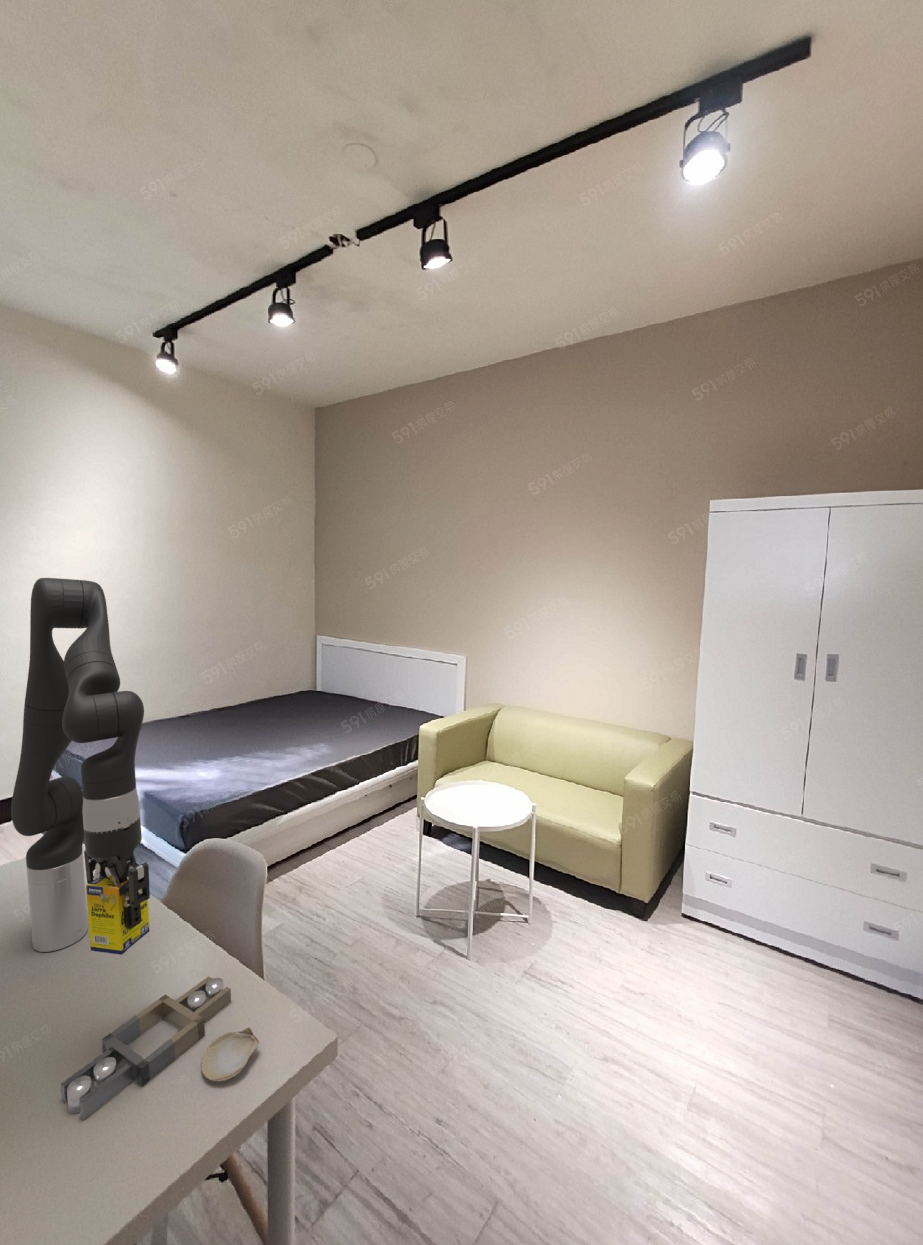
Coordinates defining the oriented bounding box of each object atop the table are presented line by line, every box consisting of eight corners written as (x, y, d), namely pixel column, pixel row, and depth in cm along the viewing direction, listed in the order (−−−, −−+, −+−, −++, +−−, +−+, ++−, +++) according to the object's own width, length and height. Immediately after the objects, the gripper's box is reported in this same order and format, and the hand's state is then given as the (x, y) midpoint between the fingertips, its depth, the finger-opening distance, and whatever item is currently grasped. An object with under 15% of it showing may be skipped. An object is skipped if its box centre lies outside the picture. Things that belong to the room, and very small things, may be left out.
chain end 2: (136, 1032, 91) (135, 1015, 90) (203, 983, 101) (202, 967, 101) (175, 1059, 86) (174, 1042, 85) (241, 1005, 96) (240, 989, 96)
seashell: (200, 1071, 86) (211, 1098, 80) (194, 1052, 86) (205, 1078, 80) (252, 1035, 91) (266, 1058, 85) (247, 1018, 91) (261, 1039, 84)
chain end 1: (50, 1094, 80) (49, 1076, 80) (136, 1032, 91) (135, 1015, 90) (89, 1130, 75) (88, 1110, 75) (175, 1059, 86) (174, 1042, 85)
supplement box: (122, 956, 85) (117, 888, 84) (89, 951, 86) (84, 885, 85) (151, 931, 90) (146, 867, 89) (119, 927, 91) (115, 864, 90)
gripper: (61, 819, 86) (70, 918, 88) (113, 839, 79) (121, 947, 81) (111, 801, 93) (118, 894, 94) (163, 818, 86) (169, 918, 87)
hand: (119, 918), depth 88 cm, fingers closed on supplement box, 7 cm apart
